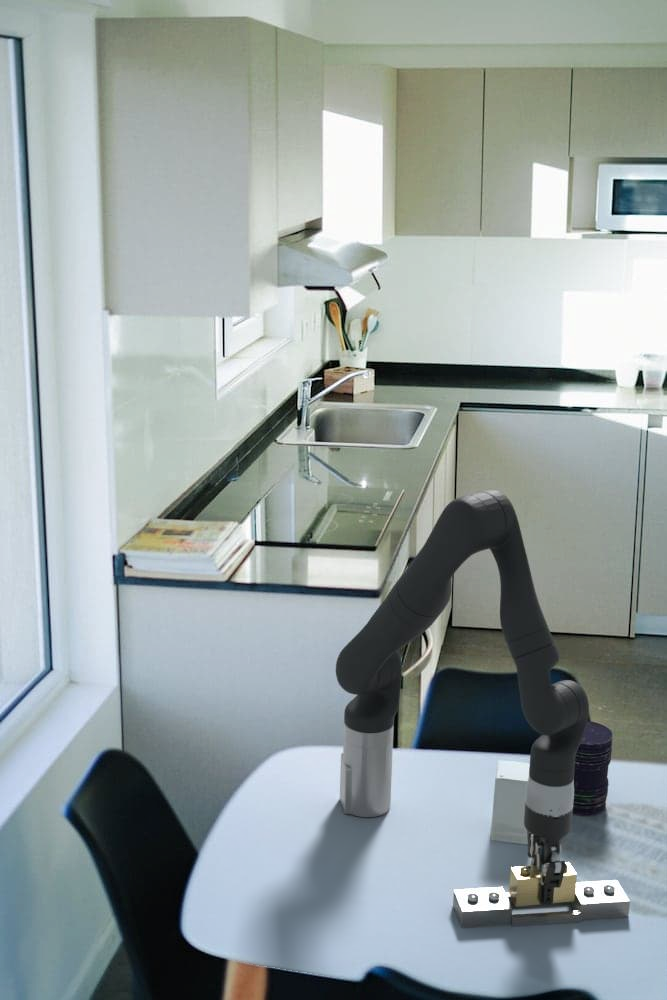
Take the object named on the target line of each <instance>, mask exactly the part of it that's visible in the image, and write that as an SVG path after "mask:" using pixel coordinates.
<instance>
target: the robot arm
mask: <svg viewBox="0 0 667 1000" xmlns="http://www.w3.org/2000/svg"><path fill="white" fill-rule="evenodd" d="M486 550H490V552H491V553H492V556H493V558H494V561H495V563H496V565H497V566H496V567H497V569H498V574H499V580H500V581H499V582H500V583H499V584H500V599H499V600H500V602H499V621H500V627H501V631H502V635H503V637H504V640H505V642H506V645H507V648H508V651H509V652H510V655H511V658H512V659H513V663H514V665H515V668H516V672H517V674H516V675H517V684H518V691H519V697H520V704H521V710H522V712H523V716H524V718H525V720H526V722H527V723H528V725H529V726H530V727H531V728H532V729H533V730H534V731H535V732H537V733H538V734H540V736H539V737H538V738H537V739H536V740H535V741H534V742H533V743H532V746H531V750H530V756H529V763H530V767H529V777H528V782H527V787H526V800H525V813H524V826H525V828H526V829H527V841H528V845H527V856H528V859H530V866H533V865H537V868H538V869H539V871H540V889H539V902H540V905H543V906H544V905H552V904H554V903H553V895H554V888H555V887H557V888H560V886H561V883H562V879H563V876H564V873H565V869H566V863H567V862H566V861H565V860H561V853H562V842H561V839H563V838H564V837H566V836H568V835H569V834H570V832H571V831H572V825H573V823H572V821H573V814H572V812H573V800H574V770H575V756H576V752H577V750H578V747H579V745H580V742H581V739H582V736H583V733H584V730H585V727H586V724H587V721H589V720H588V718H589V712H590V704H589V698H588V696H587V693H586V692H585V689H584V688H583V687H582V686H581V684H579V683H578V682H576V681H573V680H570V679H565V680H560V681H557V682H555V683H552V678H551V670H552V669H553V668H555V666H556V665H557V664H558V663H559V661H560V654H559V651H558V648H557V645H556V643H555V640H554V637H553V636H552V633H551V631H550V628H549V625H548V622H547V620H546V619H545V616H544V614H543V610H542V609H541V608H542V607H541V604H540V602H539V599H538V596H537V592H536V588H535V585H534V582H533V578H532V573H531V567H530V564H529V559H528V555H527V552H526V548H525V543H524V539H523V534H522V530H521V527H520V523H519V519H518V516H517V513H516V510H515V508H514V505H513V504H512V502H511V500H510V499H509V498H508V496H506V494H504V493H503V492H501V491H499V490H496V489H486V490H482V491H477V492H474V493H470V494H466V495H462V496H459V497H457V498H455V499H453V500H452V501H450V502H449V503H448V504H447V505H445V507H444V509H443V510H442V512H441V513H440V515H439V517H438V519H437V521H436V522H435V525H434V527H433V528H432V530H431V532H430V534H429V535H428V537H427V539H426V541H425V543H424V545H423V546H422V547H421V549H420V550H419V551H418V553H417V554H416V556H415V557H414V559H413V560H412V561H411V563H410V564H409V565H408V567H407V568H406V569H405V570H404V571H403V573H402V574H401V575H400V577H399V578H398V579H397V580H396V582H395V583H394V585H393V587H392V588H391V589H390V591H389V592H388V593H387V595H386V597H385V598H384V600H383V601H382V602H381V603H380V605H379V606H378V607H377V609H375V612H374V613H373V614H372V615H371V617H370V619H368V621H367V623H366V624H365V625H364V626H363V628H362V629H361V630H360V631H359V632H358V633H357V634H356V635H355V636H354V637H353V638H352V639H351V640H350V641H349V642H347V644H346V645H345V646H344V647H343V648H342V650H340V652H339V655H338V657H337V660H336V662H335V677H336V680H337V682H338V685H339V686H340V687H341V689H342V690H344V691H345V692H346V693H349V694H351V695H355V696H354V698H353V699H351V700H350V701H349V702H348V703H347V705H346V706H345V709H344V713H343V715H344V716H343V749H342V751H343V753H340V754H341V755H340V776H339V777H340V779H339V799H340V800H339V801H340V803H341V807H342V812H343V814H344V815H352V816H354V817H355V816H356V817H360V818H374V817H379V816H383V815H384V814H386V813H387V812H388V811H389V810H390V809H391V802H392V801H391V800H392V777H393V775H392V771H393V753H394V752H393V748H394V728H395V727H394V725H395V717H396V715H397V714H398V710H399V705H400V696H401V685H402V678H403V677H402V676H403V665H402V659H401V655H400V654H401V653H400V649H402V648H403V647H405V646H407V645H408V644H410V643H411V642H412V641H414V640H415V639H417V638H418V637H420V636H421V635H422V634H423V633H425V632H426V631H427V630H428V629H429V628H431V626H432V625H433V624H434V623H435V621H436V620H438V618H439V616H440V615H441V614H442V613H443V612H444V611H445V608H446V607H447V606H448V604H449V602H450V600H451V596H452V590H453V589H452V578H453V577H454V575H455V573H456V572H457V571H458V570H459V568H460V567H461V566H462V565H463V564H464V563H465V562H466V561H467V560H468V559H469V558H470V557H471V556H473V555H474V554H476V553H479V552H482V551H486ZM545 872H546V875H545Z"/></svg>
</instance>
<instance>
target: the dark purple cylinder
mask: <svg viewBox="0 0 667 1000" xmlns="http://www.w3.org/2000/svg"><path fill="white" fill-rule="evenodd" d="M613 737H614V735H613V732H612V730H611V729H610V728H608V727H607V726H605V725H603V724H601V723H599V722H595V721H589V720H587V724H586V727H585V730H584V733H583V736H582V739H581V742H580V745H579V747H578V750H577V752H576V756H575V770H574V800H573V812H572V816H574V815H575V816H577V817H578V816H580V817H593V816H598V815H601V814H602V813H603V812H604V811H605V810H606V807H607V805H606V804H607V798H608V793H609V785H610V784H609V778H608V773H609V765H610V763H611V760H612V752H613Z"/></svg>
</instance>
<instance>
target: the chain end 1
mask: <svg viewBox="0 0 667 1000" xmlns="http://www.w3.org/2000/svg"><path fill="white" fill-rule="evenodd" d="M452 900H453V901H452V907H453V909H455V910H454V912H455V915H456V917H457V919H458V923H459V925H460V927H461V929H464V928H467V929H468V928H477V927H479V928H481V927H494V926H495V927H496V925H497V926H509V924H511V925H510V926H511V927H525V926H526V927H527V925H528V926H541V925H548V924H547V915H546V912H532V913H518V914H517V913H515V914H513V907H512V905H515V904H514V902H513V900H512V899H511V897H510V895H509V892H506V891H505V889H504V888H503V886H498V887H497V886H495V887H477V888H464V889H463V888H462V889H453V899H452ZM507 924H508V925H507ZM523 925H524V926H523Z"/></svg>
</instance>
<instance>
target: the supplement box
mask: <svg viewBox="0 0 667 1000" xmlns="http://www.w3.org/2000/svg"><path fill="white" fill-rule="evenodd" d="M529 767H530V762H529V763H528V762H522V761H511V760H501V759H498V760H497V765H496V770H495V771H496V772H495V778H494V779H495V781H494V790H493V792H494V793H493V805H492V819H491V828H490V829H491V830H490V840H491V841H497V842H505V843H512V844H520V845H527V846H528V841H527V829H526V828H525V826H524V813H525V800H526V787H527V782H528V777H529Z"/></svg>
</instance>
